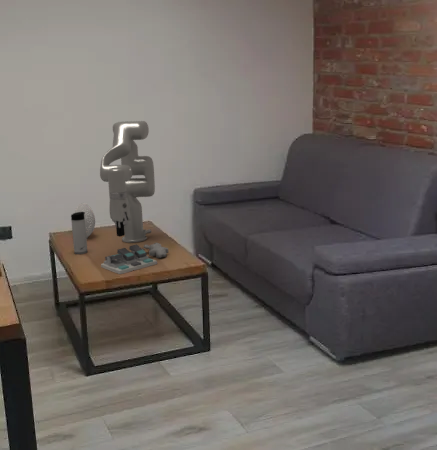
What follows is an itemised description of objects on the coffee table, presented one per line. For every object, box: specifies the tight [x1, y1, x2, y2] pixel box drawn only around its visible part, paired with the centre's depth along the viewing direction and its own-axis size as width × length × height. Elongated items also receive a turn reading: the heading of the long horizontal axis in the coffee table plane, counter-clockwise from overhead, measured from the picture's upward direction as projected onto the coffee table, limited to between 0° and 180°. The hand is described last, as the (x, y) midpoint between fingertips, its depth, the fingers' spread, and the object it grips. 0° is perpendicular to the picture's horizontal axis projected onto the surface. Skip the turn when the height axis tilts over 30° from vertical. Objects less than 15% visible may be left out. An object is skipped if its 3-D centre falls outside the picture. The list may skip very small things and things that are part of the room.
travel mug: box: [70, 211, 88, 255], centre depth 332 cm, size 6×7×20 cm
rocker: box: [104, 253, 122, 261], centre depth 307 cm, size 4×8×2 cm, turn 41°
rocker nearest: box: [128, 244, 148, 258], centre depth 315 cm, size 4×8×2 cm, turn 41°
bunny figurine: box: [142, 242, 169, 259], centre depth 326 cm, size 10×5×15 cm
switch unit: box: [100, 248, 158, 275], centre depth 310 cm, size 20×15×5 cm
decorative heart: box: [74, 202, 96, 240], centre depth 360 cm, size 18×11×17 cm, turn 15°
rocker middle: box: [116, 247, 135, 260], centre depth 311 cm, size 4×8×2 cm, turn 41°
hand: (120, 235), depth 311 cm, fingers closed
